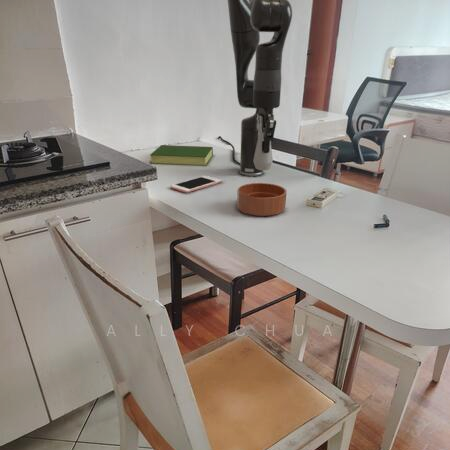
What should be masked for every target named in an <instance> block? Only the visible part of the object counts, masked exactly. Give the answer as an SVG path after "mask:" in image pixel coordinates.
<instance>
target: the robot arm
mask: <svg viewBox="0 0 450 450" xmlns="http://www.w3.org/2000/svg"><path fill="white" fill-rule="evenodd" d="M227 7H228V18H229V28H230V35H231V36H230V37H231V43H232V50H233V57H234V64H235V78H236V79H235V80H236V95H237V96H236V97H237V100H238V105H239V106H240V107H241V108H244V109H255V113H254V114H253V115H251V116H248V117H244V118H243V119H242V120H241V123H240V160H239V161H238V160H236V157H235V155H236V150H235V146H234V145H233V144H232V143H231V142H229V141H228V140H225V139H223V138H222V136H220V135H219V136H218V137H217V140H221V141H222V142H223V143H226V144H227V145H229V146H230V147H231V148H232V161H233V162H234V163H236V164H237V165H239V174H240V175H242V176H245V177H258V176H262V175H263V174H264V170H258V169H256V167H255V165H254V161H253V160H254V155H255V150H256V146H257V141H258V137H259V131H258V124H259V123H260V132H261V133H262V152H263V153H269V149H270V141H271V142H272V141H273V140H274V136H275V130H276V126H277V120H276V119H275V114H274V109H278V108H279V107H280V106H281V105H280V104H281V91H282V65H283V62H282V61H283V53H284V52H283V51H284V47H285V42H286V39H287V37H288V33H289V29H290V27H291V23H292V20H293V19H292V18H293V9H292V5H291V3H290V1H289V0H227ZM260 33H273V36H272V38H271V39H270V40H269V41H266V42H262V43H260V41H261V34H260ZM254 57H255V62H254V64H255V65H254V66H255V67H254V75H253V79H249V76H248V75H249V73H248V72H249V68H250V65H251V62H252V60H253V58H254ZM263 127H264V128H265V130H264V129H263ZM268 133H269V136H267V134H268ZM266 149H267V150H266Z"/></svg>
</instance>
